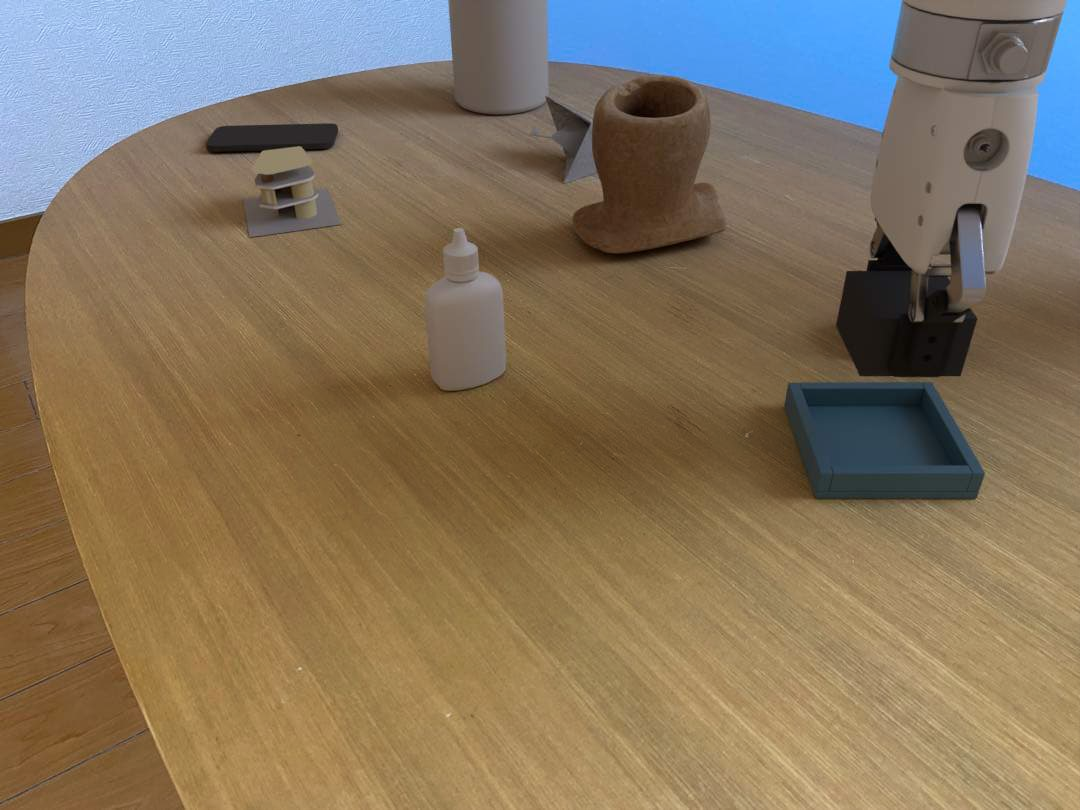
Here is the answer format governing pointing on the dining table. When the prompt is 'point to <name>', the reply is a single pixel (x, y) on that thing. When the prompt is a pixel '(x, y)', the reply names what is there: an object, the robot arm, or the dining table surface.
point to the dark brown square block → (888, 319)
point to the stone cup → (650, 167)
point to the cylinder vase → (499, 54)
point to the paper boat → (572, 140)
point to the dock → (881, 441)
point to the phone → (272, 137)
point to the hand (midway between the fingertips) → (898, 342)
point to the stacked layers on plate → (287, 195)
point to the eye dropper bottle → (465, 321)
